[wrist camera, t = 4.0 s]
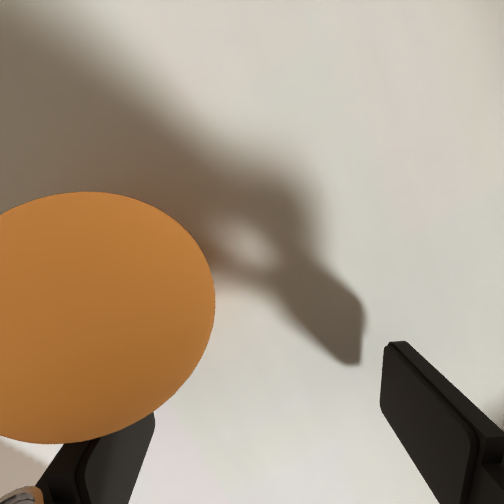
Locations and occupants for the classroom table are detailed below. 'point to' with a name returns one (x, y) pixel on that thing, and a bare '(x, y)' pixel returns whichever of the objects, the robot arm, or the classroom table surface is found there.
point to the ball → (95, 315)
